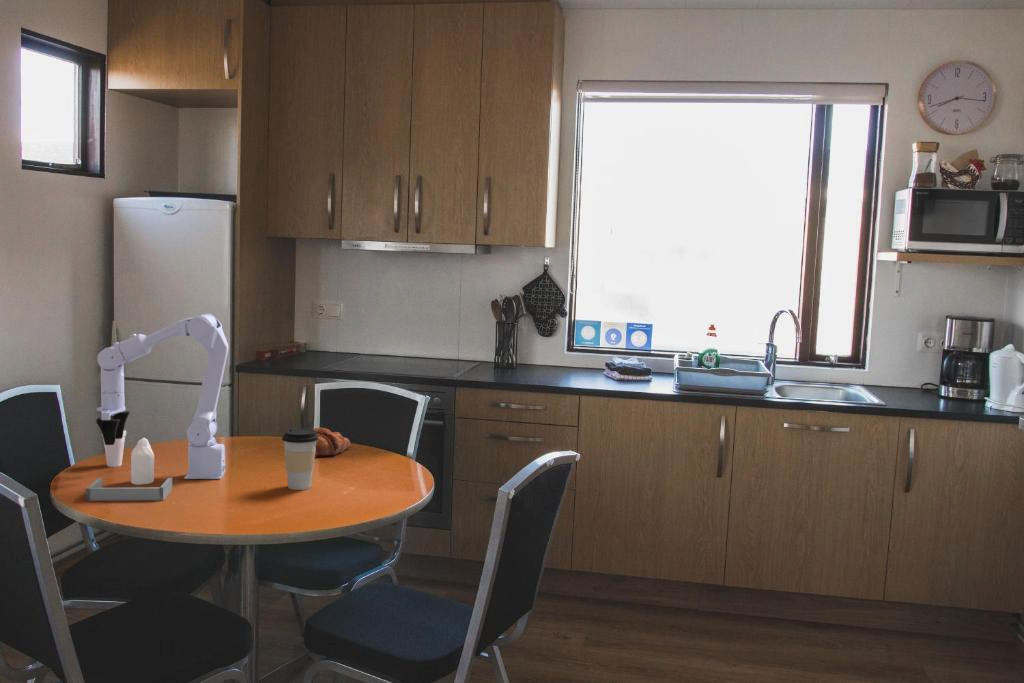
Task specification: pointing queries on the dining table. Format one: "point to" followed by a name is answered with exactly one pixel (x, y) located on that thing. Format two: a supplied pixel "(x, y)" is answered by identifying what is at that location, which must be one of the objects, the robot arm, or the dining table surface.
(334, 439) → the pastry
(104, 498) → the box
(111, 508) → the dining table surface
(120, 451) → the smoothie
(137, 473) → the white rounded-top container
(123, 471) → the dining table surface
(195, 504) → the dining table surface
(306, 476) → the coffee cup
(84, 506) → the dining table surface
